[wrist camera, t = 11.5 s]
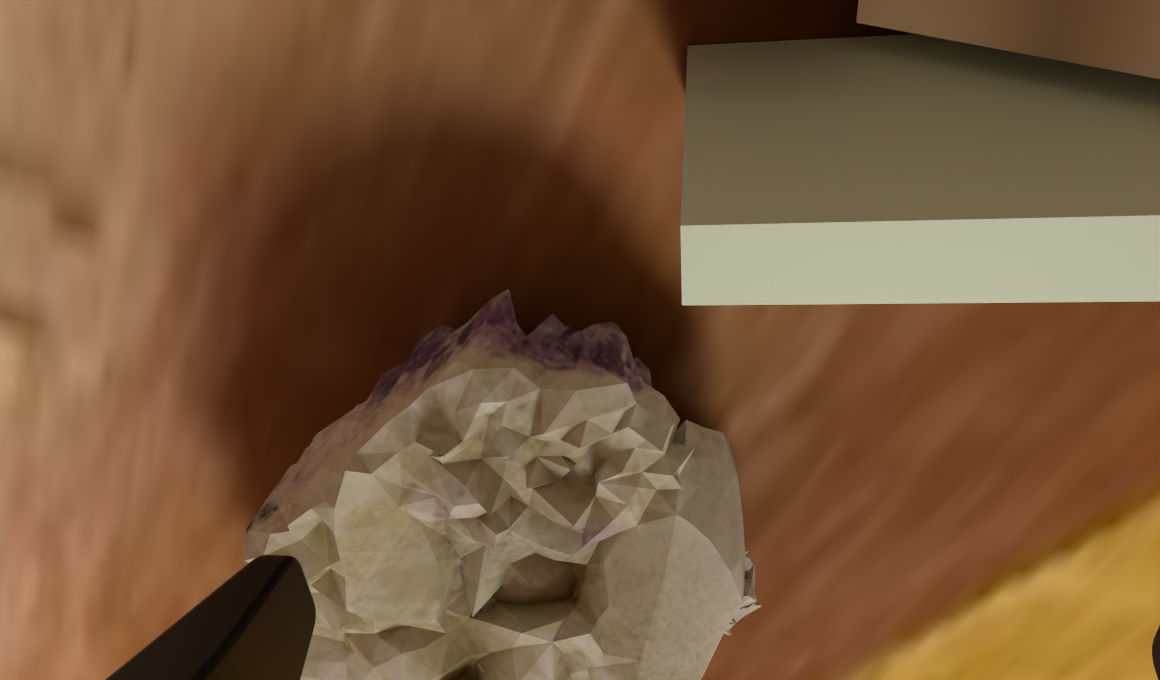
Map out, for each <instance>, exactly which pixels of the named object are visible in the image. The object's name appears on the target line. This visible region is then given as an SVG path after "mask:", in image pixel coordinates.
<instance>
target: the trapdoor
mask: <svg viewBox="0 0 1160 680" xmlns="http://www.w3.org/2000/svg"><path fill="white" fill-rule="evenodd" d="M856 23H861V24H866V25H871V26H877V27H882V28H887V29H893V30H898V31H904V32H909V33H914V34H920V35H925V36H930V37H936V38H941V39H947V40H952V41H957V42H963V43H968V44H974V45H979V46H984V47H990V48H995V49H1000V50H1006V51H1011V52H1017V53H1022V54H1027V55H1033V56H1038V57H1043V58H1049V59H1054V60H1060V61H1065V62H1070V63H1076V64H1081V65H1086V66H1092V67H1097V68H1103V69H1108V70H1113V71H1119V72H1124V73H1129V74H1135V75H1140V76H1146V77H1151V78H1156V79H1160V0H858V11H857V22H856Z"/></svg>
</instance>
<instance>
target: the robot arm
mask: <svg viewBox="0 0 1160 680" xmlns="http://www.w3.org/2000/svg"><path fill="white" fill-rule="evenodd" d="M315 620H316V608H315V603H314V600H313V597H312V594H311V591H310V589H309V586H308V583H307V580H306V578H305V575H304V572H303V569H302V566H301V564H300V562H299V561H298V560H297V559H296V558H295V557H293V556H287V555H262V556H259V557H257V558H255V559H253V560H252V561H251V562H249V563H248V564H247V565H246V566H244V567H243V568H242V569H241V570H239V571H238V572H237V573H236V574H235V575H233V576H232V577H231V578H230V579H228V580H227V581H226V582H225V583H223V584H222V585H221V586H220V587H219V588H217V589H216V590H215V591H214V592H212V593H211V594H210V595H209V596H208V597H206V598H205V599H204V600H203V601H201V602H200V603H199V604H198V605H196V606H195V607H194V608H193V609H192V610H190V611H189V612H188V613H187V614H185V615H184V616H183V617H182V618H180V619H179V620H178V621H177V622H176V623H174V624H173V625H172V626H171V627H169V628H168V629H167V630H166V631H164V632H163V633H162V634H161V635H160V636H158V637H157V638H156V639H155V640H153V641H152V642H151V643H150V644H148V645H147V646H146V647H145V648H144V649H142V650H141V651H140V652H139V653H137V654H136V655H135V656H134V657H132V658H131V659H130V660H129V661H128V662H126V663H125V664H124V665H123V666H121V667H120V668H119V669H118V670H116V671H115V672H114V673H113V674H112V675H110V676H109V677H108V678H107V679H105V680H300V679H301V675H302V672H303V668H304V664H305V660H306V657H307V653H308V649H309V645H310V642H311V638H312V634H313V630H314V626H315ZM1152 656H1153V663H1154V667H1155V670H1156V673H1157V677H1158V680H1160V626H1159V628H1158V631H1157V633H1156V635H1155V637H1154V641H1153V646H1152Z"/></svg>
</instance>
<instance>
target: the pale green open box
mask: <svg viewBox="0 0 1160 680" xmlns="http://www.w3.org/2000/svg"><path fill="white" fill-rule="evenodd" d="M681 281H682V305H792V304H906V303H1019V302H1133V301H1160V79H1156V78H1151V77H1146V76H1140V75H1135V74H1129V73H1124V72H1119V71H1113V70H1108V69H1103V68H1097V67H1092V66H1086V65H1081V64H1076V63H1070V62H1065V61H1060V60H1054V59H1049V58H1043V57H1038V56H1033V55H1027V54H1022V53H1017V52H1011V51H1006V50H1000V49H995V48H990V47H984V46H979V45H974V44H968V43H963V42H957V41H952V40H947V39H941V38H936V37H930V36H925V35H920V34H906V35H887V36H867V37H847V38H827V39H807V40H787V41H768V42H748V43H728V44H708V45H688V46H687V70H686V97H685V123H684V149H683V176H682V202H681Z"/></svg>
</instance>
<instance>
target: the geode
mask: <svg viewBox="0 0 1160 680" xmlns="http://www.w3.org/2000/svg"><path fill="white" fill-rule="evenodd" d="M679 421H680V418H679V417H678V415H677V414H676V412H675V411H674V409H673V408H672V406H671V405H670V404H669V402H668V401H667V399H666V398H665V396H664V395H662V394H661V393H659V392H658V391H656V390H655V389H653V387H652V384H651V374H650V370H649V369H648V368H647V367H646V366H645V365H644V364H643V362H642V361H641V360H640V359H639V358H638V357H635V358H634V359H633V355H632V352H631V349H630V346H629V343H628V340H627V337H626V335H625V334H624V333H623V331H622V330H621V329H620V328H619V327H618V325H617V324H615V323H613V322H608V323H596V324H594V325H592V326H590V327H588V328H586V329H584V330H581V331H579V330H574V329H570V328H569V327H568V326H567V327H565V326H564V325H563V324H562V323H561V322H560V321H559V320H558V318H557V317H556V316H555V315H554V314H552V315H550V316H549V317H548V318H547V319H546V320H545V321H544V322H542V323H541V324H540V325H539V326H538V327H537V328H536V329H534V330H533V331H532V332H531V333H530V334H529V335H528V336H527V335H526V334H525V333H524V332H523V331H522V330H521V329H520V327H519V325H518V324H517V321H516V316H515V312H514V307H513V303H512V299H511V294H510V290H509V289H507V290H506V291H504V292H502V293H500V294H498V295H497V296H495V297H493V298H491V299H490V300H489V301H488V302H487V303H486V304H485V305H484V306H483V307H482V308H481V309H480V310H479V311H478V312H477V313H476V314H475V315H474V316H473V317H472V318H471V319H470V320H469V321H468V322H467V323H466V324H464V325H461V326H439V327H437V328H436V329H434V330H433V331H431V332H430V333H428V334H426V335H425V336H423V337H422V338H420V339H418V341H417V343H416V345H415V347H414V349H413V351H412V352H411V354H410V356H409V358H408V360H407V361H405V362H404V363H402V364H400V365H398V366H396V367H394V368H392V369H390V370H389V371H387V372H385V373H383V374H381V376H380V378H379V380H378V382H377V383H376V385H375V387H374V389H373V390H372V392H371V394H370V396H369V398H368V399H367V400H366V401H365V402H363V403H362V404H359V405H356V406H355V408H354V409H353V410H351V411H350V412H348V413H347V414H345V415H344V416H342V417H341V418H339V419H338V420H336V421H335V422H333V423H332V424H330V425H329V426H327V427H326V428H324V429H323V430H322V431H320V432H319V433H317V434H316V435H315V437H314V439H313V441H312V443H311V445H309V446H308V447H307V448H305V450H304V452H303V453H302V455H301V457H300V459H299V461H298V462H297V463H296V464H293V465H291V466H290V467H289V469H288V470H287V471H286V473H285V474H284V476H283V477H282V478H281V480H280V481H279V482H278V484H277V485H276V486H275V488H274V489H273V491H272V492H271V493H270V495H269V496H268V497H267V499H266V500H265V502H264V503H263V505H262V506H261V508H260V509H259V511H258V512H257V514H256V515H255V517H254V519H253V520H252V522H251V523H250V525H249V526H248V528H247V529H246V537H245V551H244V562H243V565H242V568H243V567H244V566H246V565H247V564H248V563H249V562H251V561H252V560H253V559H255V558H257V557H259V556H262V555H287V556H293V557H295V558H296V559H297V560H298V561H299V562H300V564H301V566H302V569H303V572H304V575H305V578H306V580H307V583H308V586H309V589H310V591H311V594H312V597H313V600H314V603H315V608H316V620H315V626H314V630H313V634H312V638H311V642H310V645H309V649H308V653H307V657H306V660H305V664H304V668H303V672H302V675H301V679H300V680H701V679H702V677H703V675H704V673H705V671H706V669H707V666H708V664H709V662H710V660H711V658H712V656H713V654H714V652H715V650H716V648H717V646H718V644H719V642H720V640H721V638H722V635H723V633H725V634H728V635H730V636H731V629H730V628H731V627H732V626H733V625H734V624H735V623H737V622H738V621H739V620H740V619H741V618H742V617H744V616H746V615H747V614H749V613H751V612H752V611H754V610H756V609H757V608H759V607H761V606H762V605H761V604H759V603H757V602H756V601H757V600H756V596H755V591H754V587H755V567H754V562H752V561H751V560H750V559H749V557H748V555H747V553H748V552H749V551H745V543H744V529H743V515H742V505H741V497H740V488H739V479H738V474H737V470H736V466H735V462H734V458H733V454H732V450H731V448H730V446H729V444H728V442H727V440H726V438H725V436H724V434H723V432H719V431H715V430H711V429H708V428H704V427H702V426H700V425H697V424H695V423H693V422H690V421H688V420H685V421H684V423H683V424H682V425H681V426H680V427H679V428H677V427H678V424H679ZM242 568H241V569H242Z"/></svg>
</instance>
